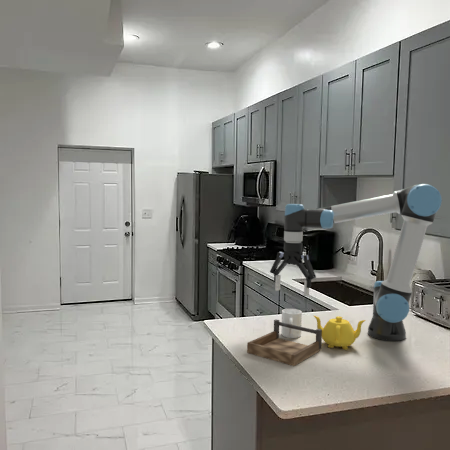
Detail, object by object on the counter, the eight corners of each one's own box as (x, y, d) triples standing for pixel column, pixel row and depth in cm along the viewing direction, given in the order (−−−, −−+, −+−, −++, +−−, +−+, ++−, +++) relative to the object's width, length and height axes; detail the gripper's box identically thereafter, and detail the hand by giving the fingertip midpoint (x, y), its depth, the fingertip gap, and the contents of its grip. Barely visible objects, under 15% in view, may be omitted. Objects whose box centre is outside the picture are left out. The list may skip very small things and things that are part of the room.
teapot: (310, 349, 176) (311, 320, 175) (313, 337, 190) (314, 310, 189) (364, 355, 170) (366, 325, 169) (364, 342, 184) (365, 314, 183)
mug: (300, 342, 184) (300, 317, 183) (279, 340, 186) (280, 315, 185) (301, 333, 196) (302, 309, 195) (282, 331, 198) (282, 308, 197)
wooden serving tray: (321, 350, 175) (321, 329, 174) (294, 366, 159) (295, 343, 158) (275, 339, 188) (276, 319, 187) (246, 352, 172) (247, 331, 171)
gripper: (325, 243, 183) (323, 296, 185) (272, 238, 198) (271, 286, 200) (316, 245, 177) (314, 299, 179) (262, 239, 193) (261, 289, 194)
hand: (291, 292), depth 189 cm, fingers open, 13 cm apart
